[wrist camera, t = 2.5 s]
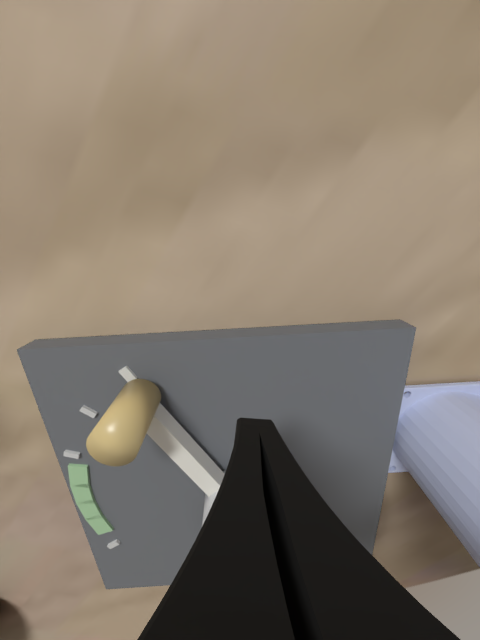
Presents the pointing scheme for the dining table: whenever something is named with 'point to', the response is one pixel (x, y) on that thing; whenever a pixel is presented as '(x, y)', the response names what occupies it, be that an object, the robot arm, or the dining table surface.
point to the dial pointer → (152, 418)
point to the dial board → (221, 425)
